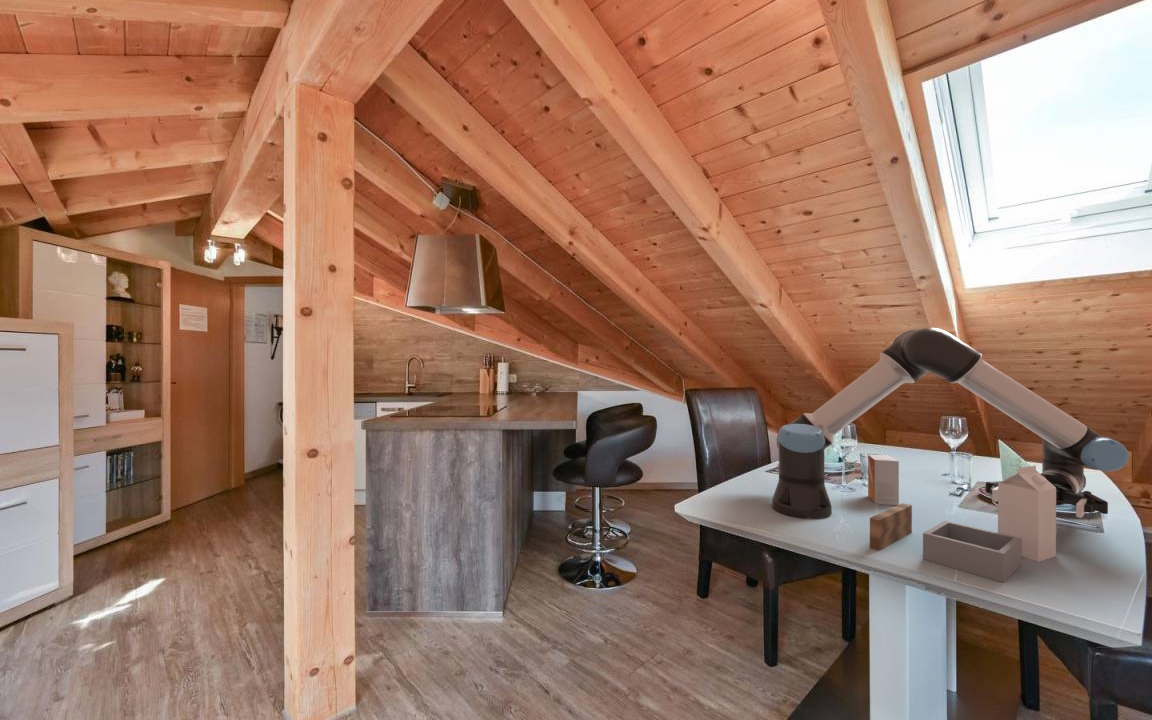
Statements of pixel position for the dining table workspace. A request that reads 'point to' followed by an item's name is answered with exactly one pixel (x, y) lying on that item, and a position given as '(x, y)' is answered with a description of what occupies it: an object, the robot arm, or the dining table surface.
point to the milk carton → (1029, 512)
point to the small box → (883, 479)
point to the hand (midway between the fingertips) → (1034, 502)
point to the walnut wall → (890, 526)
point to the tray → (973, 550)
